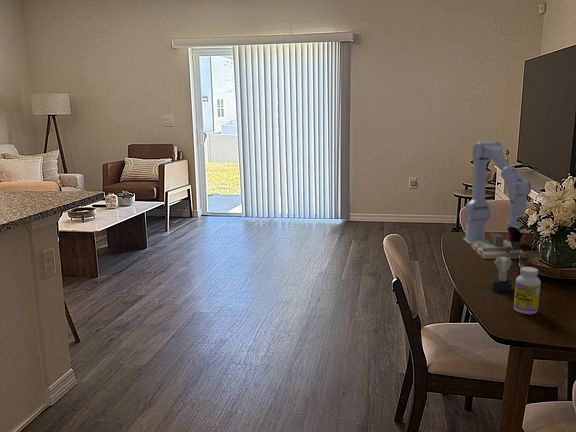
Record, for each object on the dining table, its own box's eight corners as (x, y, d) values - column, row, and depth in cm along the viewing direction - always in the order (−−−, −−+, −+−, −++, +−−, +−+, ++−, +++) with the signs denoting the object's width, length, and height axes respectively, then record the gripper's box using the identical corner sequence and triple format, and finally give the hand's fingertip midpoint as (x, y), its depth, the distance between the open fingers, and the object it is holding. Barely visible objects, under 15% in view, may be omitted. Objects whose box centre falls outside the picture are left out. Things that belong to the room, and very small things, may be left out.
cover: (476, 242, 228) (477, 230, 227) (505, 242, 227) (506, 230, 226) (485, 250, 216) (486, 238, 215) (516, 250, 216) (516, 238, 215)
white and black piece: (510, 286, 181) (512, 254, 178) (510, 294, 173) (513, 261, 171) (492, 284, 183) (494, 253, 180) (492, 292, 175) (494, 260, 173)
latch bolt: (509, 248, 213) (509, 238, 212) (515, 248, 213) (516, 238, 212) (513, 252, 208) (514, 241, 207) (520, 252, 208) (521, 241, 207)
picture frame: (470, 246, 230) (471, 237, 229) (509, 246, 229) (509, 237, 228) (483, 258, 212) (484, 248, 211) (525, 258, 211) (526, 248, 210)
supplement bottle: (509, 310, 160) (512, 269, 158) (519, 304, 165) (522, 264, 162) (532, 316, 156) (536, 274, 153) (541, 310, 160) (545, 269, 158)
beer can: (520, 241, 235) (523, 214, 233) (525, 245, 229) (528, 218, 226) (505, 241, 236) (507, 214, 233) (509, 245, 230) (511, 218, 227)
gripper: (500, 208, 215) (498, 241, 218) (513, 216, 201) (510, 251, 204) (518, 208, 214) (515, 241, 217) (533, 216, 200) (530, 251, 203)
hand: (514, 246), depth 210 cm, fingers closed
